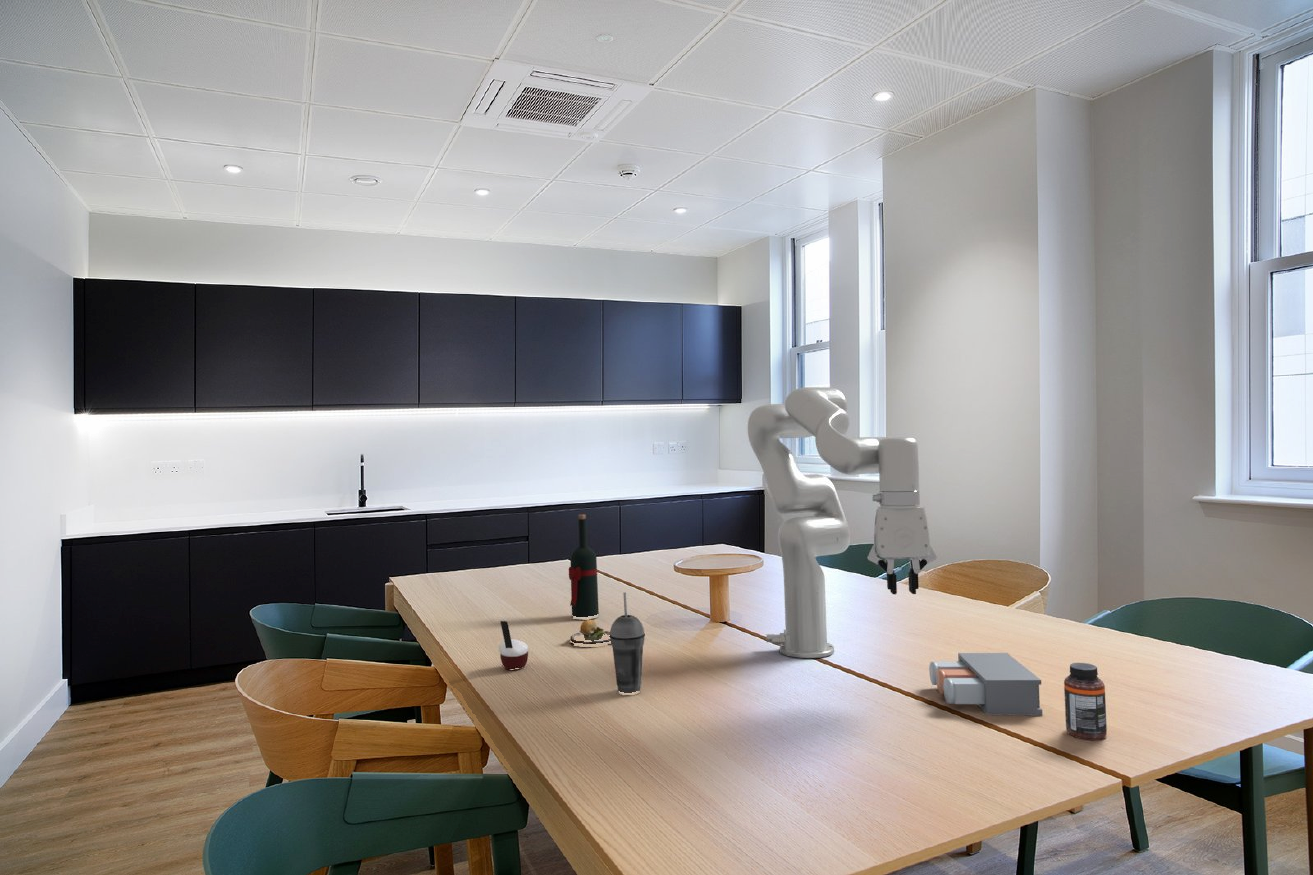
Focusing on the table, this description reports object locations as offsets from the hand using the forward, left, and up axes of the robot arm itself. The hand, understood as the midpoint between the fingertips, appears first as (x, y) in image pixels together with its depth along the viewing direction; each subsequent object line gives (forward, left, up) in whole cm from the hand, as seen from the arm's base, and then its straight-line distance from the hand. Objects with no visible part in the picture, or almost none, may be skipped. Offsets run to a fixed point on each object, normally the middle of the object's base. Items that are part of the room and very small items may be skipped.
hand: (903, 592), depth 156 cm
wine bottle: (-78, +67, -19) cm, 104 cm away
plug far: (+10, 0, -18) cm, 21 cm away
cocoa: (-84, +16, -19) cm, 88 cm away
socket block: (+15, -5, -19) cm, 25 cm away
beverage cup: (-55, -1, -19) cm, 58 cm away
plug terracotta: (+10, -5, -18) cm, 21 cm away
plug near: (+10, -11, -18) cm, 23 cm away
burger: (-70, +40, -20) cm, 83 cm away
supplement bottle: (+24, -23, -19) cm, 39 cm away
